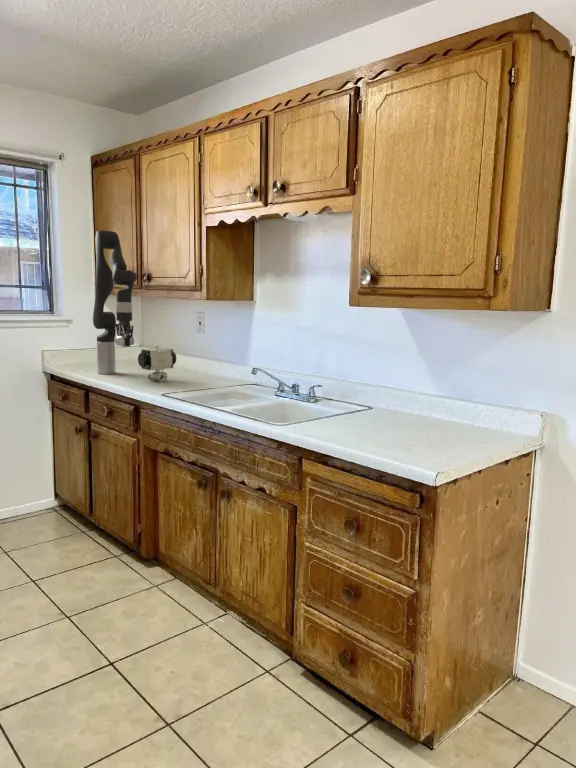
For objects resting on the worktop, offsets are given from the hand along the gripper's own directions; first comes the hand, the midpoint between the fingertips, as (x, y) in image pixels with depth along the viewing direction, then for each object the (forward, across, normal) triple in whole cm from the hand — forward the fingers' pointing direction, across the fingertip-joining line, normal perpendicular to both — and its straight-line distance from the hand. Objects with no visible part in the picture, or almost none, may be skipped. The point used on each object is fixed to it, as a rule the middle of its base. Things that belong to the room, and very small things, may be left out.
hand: (124, 345), depth 286 cm
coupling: (+1, 0, 0) cm, 1 cm away
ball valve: (+18, +11, +12) cm, 24 cm away
